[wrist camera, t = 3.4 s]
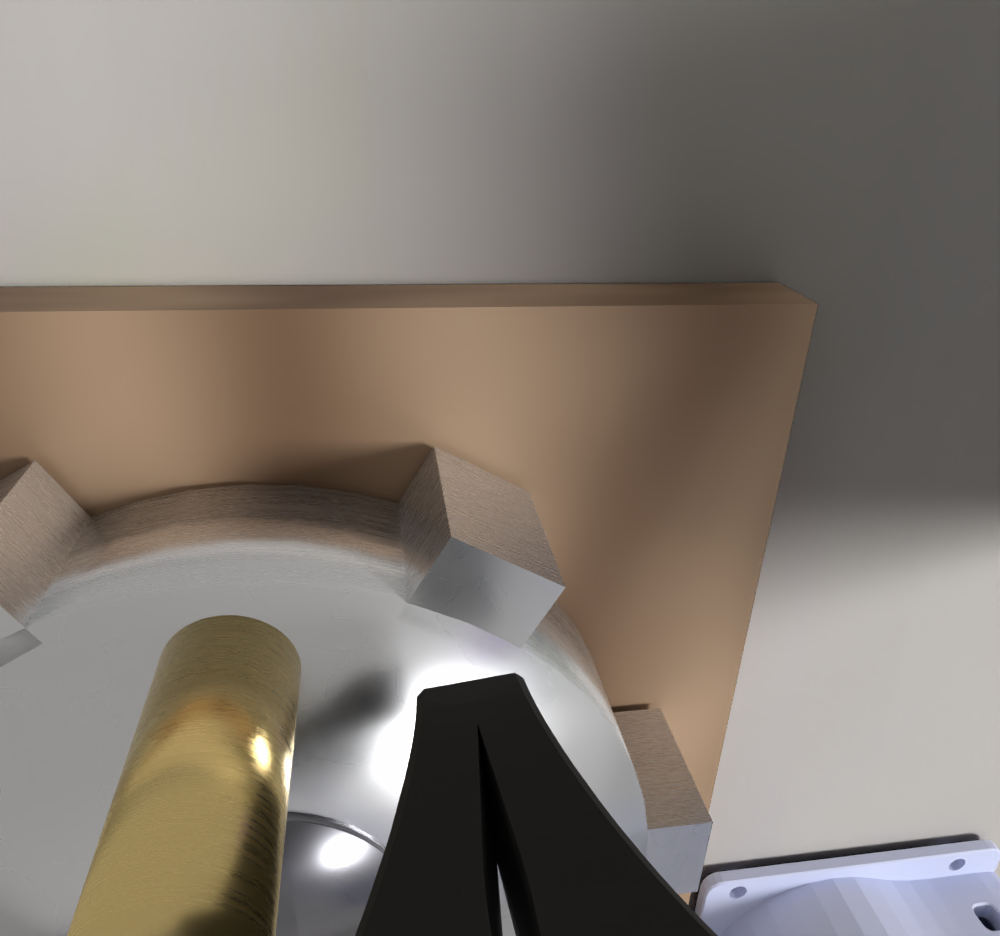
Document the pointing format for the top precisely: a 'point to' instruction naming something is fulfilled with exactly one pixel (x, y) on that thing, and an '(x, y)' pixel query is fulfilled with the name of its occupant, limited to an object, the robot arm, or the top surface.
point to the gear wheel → (275, 697)
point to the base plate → (456, 431)
